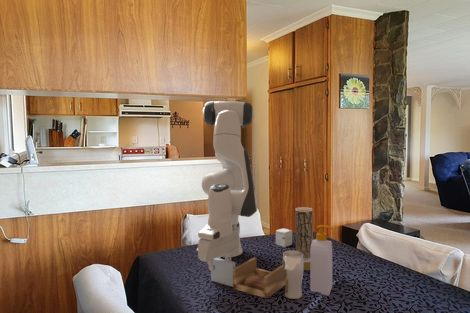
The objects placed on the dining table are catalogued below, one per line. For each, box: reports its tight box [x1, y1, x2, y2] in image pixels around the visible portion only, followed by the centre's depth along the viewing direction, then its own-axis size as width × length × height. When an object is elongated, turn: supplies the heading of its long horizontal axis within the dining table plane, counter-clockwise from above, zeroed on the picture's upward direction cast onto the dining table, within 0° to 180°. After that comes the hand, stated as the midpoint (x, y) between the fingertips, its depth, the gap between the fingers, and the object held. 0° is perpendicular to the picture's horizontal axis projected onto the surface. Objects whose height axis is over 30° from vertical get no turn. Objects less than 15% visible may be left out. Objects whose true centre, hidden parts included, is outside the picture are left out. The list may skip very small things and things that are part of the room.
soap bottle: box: [309, 224, 333, 296], centre depth 121 cm, size 9×7×23 cm
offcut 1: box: [245, 275, 264, 288], centre depth 121 cm, size 8×4×2 cm, turn 59°
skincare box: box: [275, 228, 293, 248], centre depth 173 cm, size 6×6×7 cm
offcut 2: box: [244, 282, 264, 291], centre depth 122 cm, size 9×4×2 cm, turn 55°
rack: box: [232, 257, 285, 299], centre depth 123 cm, size 14×14×8 cm
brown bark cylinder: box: [295, 206, 314, 271], centre depth 140 cm, size 7×7×25 cm
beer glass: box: [282, 250, 305, 300], centre depth 116 cm, size 7×7×15 cm
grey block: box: [210, 258, 237, 288], centre depth 127 cm, size 10×2×9 cm, turn 55°
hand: (220, 265), depth 127 cm, fingers open, 8 cm apart
